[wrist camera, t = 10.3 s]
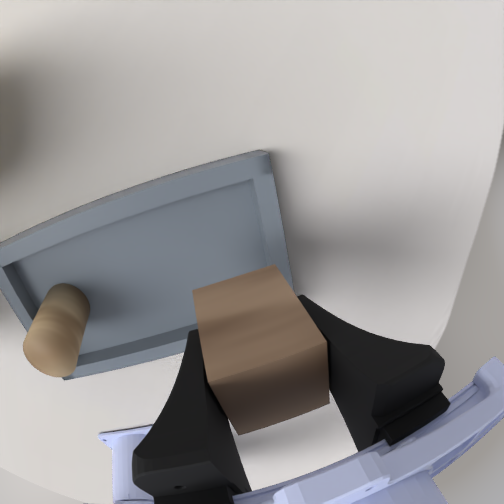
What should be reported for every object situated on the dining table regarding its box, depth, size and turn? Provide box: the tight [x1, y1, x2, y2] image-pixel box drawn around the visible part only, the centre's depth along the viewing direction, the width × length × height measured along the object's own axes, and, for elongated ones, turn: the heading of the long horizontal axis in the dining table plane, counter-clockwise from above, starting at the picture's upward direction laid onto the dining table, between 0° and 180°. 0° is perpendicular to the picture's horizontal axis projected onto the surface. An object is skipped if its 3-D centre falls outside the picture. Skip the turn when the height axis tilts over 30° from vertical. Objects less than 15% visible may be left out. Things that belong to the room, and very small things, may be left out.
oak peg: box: [23, 283, 90, 377], centre depth 16 cm, size 4×4×6 cm
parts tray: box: [0, 150, 294, 380], centre depth 19 cm, size 12×20×2 cm, turn 102°
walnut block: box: [192, 264, 330, 435], centre depth 12 cm, size 4×4×6 cm
